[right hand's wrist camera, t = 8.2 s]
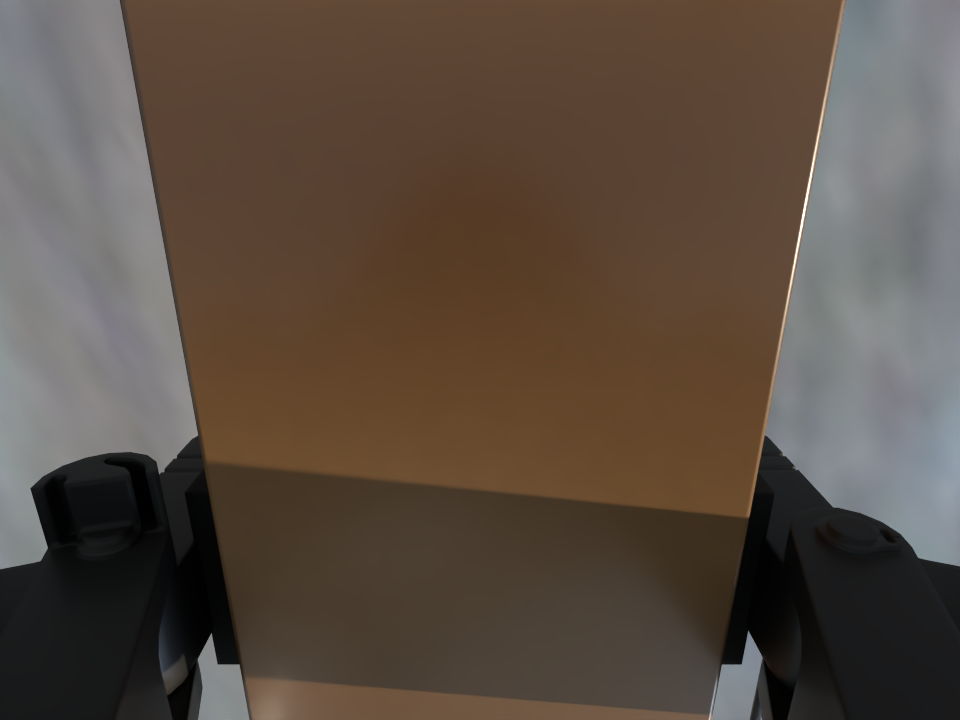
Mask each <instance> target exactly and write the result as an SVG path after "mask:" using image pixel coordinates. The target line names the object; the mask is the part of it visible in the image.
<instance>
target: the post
mask: <svg viewBox="0 0 960 720" xmlns="http://www.w3.org/2000/svg"><path fill="white" fill-rule="evenodd" d="M120 4H121V9H122V15H123V20H124V26H125V31H126V37H127V42H128V48H129V53H130V59H131V65H132V70H133V76H134V81H135V87H136V92H137V98H138V103H139V109H140V114H141V120H142V126H143V131H144V137H145V142H146V148H147V153H148V159H149V164H150V170H151V175H152V181H153V187H154V192H155V198H156V203H157V209H158V214H159V220H160V225H161V231H162V236H163V242H164V247H165V253H166V259H167V264H168V270H169V275H170V281H171V286H172V292H173V297H174V303H175V308H176V314H177V320H178V325H179V331H180V336H181V342H182V347H183V353H184V358H185V364H186V369H187V375H188V381H189V386H190V392H191V397H192V403H193V408H194V414H195V419H196V425H197V430H198V436H199V442H200V447H201V453H202V458H203V464H204V469H205V475H206V480H207V486H208V491H209V497H210V503H211V508H212V514H213V519H214V525H215V530H216V536H217V541H218V547H219V552H220V558H221V563H222V569H223V575H224V580H225V586H226V591H227V597H228V602H229V608H230V613H231V619H232V624H233V630H234V636H235V641H236V647H237V652H238V658H239V663H240V669H241V674H242V680H243V685H244V691H245V697H246V702H247V708H248V713H249V719H250V720H711V719H712V714H713V709H714V703H715V698H716V693H717V687H718V682H719V677H720V671H721V666H722V660H723V655H724V650H725V644H726V639H727V634H728V628H729V623H730V618H731V612H732V607H733V602H734V596H735V591H736V586H737V580H738V575H739V570H740V564H741V559H742V554H743V548H744V543H745V538H746V532H747V527H748V522H749V516H750V511H751V506H752V500H753V495H754V490H755V484H756V479H757V474H758V468H759V463H760V458H761V452H762V447H763V442H764V436H765V431H766V426H767V420H768V415H769V410H770V404H771V399H772V394H773V388H774V383H775V378H776V372H777V367H778V362H779V356H780V351H781V346H782V340H783V335H784V329H785V324H786V319H787V313H788V308H789V303H790V297H791V292H792V287H793V281H794V276H795V271H796V265H797V260H798V255H799V249H800V244H801V239H802V233H803V228H804V223H805V217H806V212H807V207H808V201H809V196H810V191H811V185H812V180H813V175H814V169H815V164H816V159H817V153H818V148H819V143H820V137H821V132H822V127H823V121H824V116H825V111H826V105H827V100H828V95H829V89H830V84H831V79H832V73H833V68H834V63H835V57H836V52H837V47H838V41H839V36H840V31H841V25H842V20H843V15H844V9H845V4H846V0H120Z"/></svg>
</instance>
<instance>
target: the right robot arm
mask: <svg viewBox="0 0 960 720" xmlns="http://www.w3.org/2000/svg"><path fill="white" fill-rule="evenodd" d="M31 492H32V495H33V499H34V502H35V505H36V509H37V512H38V516H39V519H40V522H41V526H42V529H43V532H44V536H45V539H46V543H47V546H48V549H47V551H46V553H45V555H44V556H43V558H42V560H41V561H40V562H36V563H31V564H26V565H21V566H16V567H10V568H5V569H0V720H198V715H199V708H200V702H201V695H202V680H201V673H200V668H199V663H198V657H199V655H200V653H201V652H202V650H203V648H204V646H205V644H206V642H207V640H208V638H209V636H210V635H211V633H212V637H213V642H214V647H215V652H216V657H217V662H218V664H240V663H239V658H238V652H237V647H236V641H235V636H234V630H233V624H232V619H231V613H230V608H229V602H228V597H227V591H226V586H225V580H224V575H223V569H222V563H221V558H220V552H219V547H218V541H217V536H216V530H215V525H214V519H213V514H212V508H211V503H210V497H209V491H208V486H207V480H206V475H205V469H204V464H203V458H202V453H201V447H200V442H199V436H197V437H195V438H193V439H192V440H191V441H190V442H189V443H188V444H187V445H186V446H185V447H184V448H183V450H182V451H181V452H180V453H179V454H178V455H177V459H173V460H172V462H171V463H170V464H169V465H168V466H167V467H166V468H165V472H161V474H160V475H159V472H158V467H157V463H156V461H155V460H153V459H152V458H150V457H149V456H147V455H143V454H138V453H132V452H123V453H107V454H102V455H97V456H92V457H87V458H84V459H81V460H78V461H75V462H73V463H70V464H67V465H64V466H62V467H60V468H58V469H56V470H54V471H52V472H51V473H49V474H47V475H45V476H43V477H42V478H41V479H40V480H39V481H38V482H37V483H36V484H35V485H34V486H33V487H31ZM748 630H749V632H750V634H751V636H752V638H753V640H754V642H755V644H756V645H757V647H758V649H759V651H760V653H761V655H762V657H763V659H762V663H761V668H760V673H759V678H758V683H757V687H756V692H755V697H754V702H753V706H752V711H751V716H750V720H760V719H761V718H762V720H960V566H955V565H949V564H944V563H939V562H934V561H928V560H924V559H920V558H918V557H917V555H916V554H915V552H914V550H913V548H912V547H911V546H910V544H909V543H908V542H907V541H906V540H905V539H904V538H903V537H902V535H901V534H899V533H898V532H896V531H895V530H893V529H892V528H890V527H889V526H887V525H886V524H884V523H882V522H880V521H878V520H875V519H873V518H871V517H868V516H866V515H863V514H861V513H857V512H853V511H849V510H845V509H840V508H833V507H832V506H831V505H830V504H829V503H828V502H827V500H826V499H825V498H824V497H823V496H822V495H821V494H820V493H819V492H818V491H817V490H816V489H815V488H814V486H813V485H812V484H811V483H810V482H809V481H808V480H807V479H806V478H805V477H804V476H803V475H802V473H801V472H800V471H799V470H795V466H794V465H793V464H792V463H791V462H790V461H789V459H788V458H787V457H786V456H783V453H782V452H781V451H780V450H779V449H778V448H777V446H776V445H775V444H774V443H773V442H772V441H771V440H770V439H769V438H768V437H767V436H764V442H763V447H762V452H761V458H760V463H759V468H758V474H757V479H756V484H755V490H754V495H753V500H752V506H751V511H750V516H749V522H748V527H747V532H746V538H745V543H744V548H743V554H742V559H741V564H740V570H739V575H738V580H737V586H736V591H735V596H734V602H733V607H732V612H731V618H730V623H729V628H728V634H727V639H726V644H725V650H724V655H723V660H722V664H742V660H743V655H744V650H745V644H746V639H747V634H748Z"/></svg>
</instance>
